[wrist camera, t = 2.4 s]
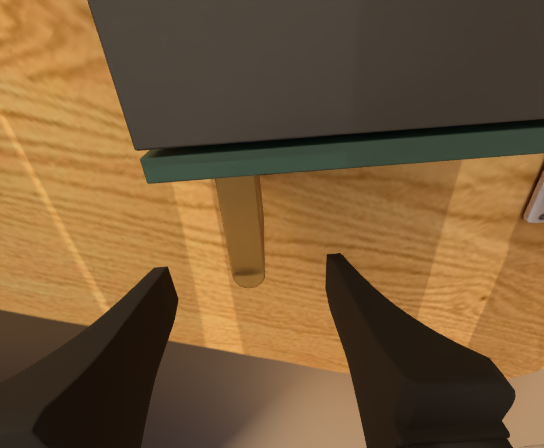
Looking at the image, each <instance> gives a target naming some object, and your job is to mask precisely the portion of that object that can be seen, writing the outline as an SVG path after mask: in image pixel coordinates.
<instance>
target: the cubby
mask: <svg viewBox="0 0 544 448" xmlns="http://www.w3.org/2000/svg"><path fill="white" fill-rule="evenodd" d="M88 3H89V7H90V10H91V13H92V16H93V19H94V22H95V26H96V29H97V32H98V35H99V38H100V41H101V44H102V48H103V51H104V54H105V57H106V60H107V63H108V66H109V70H110V73H111V76H112V79H113V82H114V85H115V89H116V92H117V95H118V98H119V101H120V104H121V107H122V111H123V114H124V117H125V120H126V123H127V126H128V130H129V133H130V136H131V139H132V142H133V145H134V148H135V150H137V151H139V150H152V149H165V148H178V147H191V146H204V145H217V144H230V143H242V142H255V141H268V140H281V139H294V138H307V137H320V136H333V135H345V134H358V133H371V132H384V131H397V130H410V129H423V128H436V127H449V126H461V125H474V124H487V123H500V122H513V121H526V120H539V119H544V0H88Z"/></svg>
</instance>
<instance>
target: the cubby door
mask: <svg viewBox="0 0 544 448" xmlns="http://www.w3.org/2000/svg"><path fill="white" fill-rule="evenodd" d="M539 153H544V119H539V120H526V121H513V122H500V123H487V124H474V125H461V126H449V127H436V128H423V129H410V130H397V131H384V132H371V133H358V134H345V135H333V136H320V137H307V138H294V139H281V140H268V141H255V142H242V143H230V144H217V145H204V146H191V147H178V148H165V149H152V150H150V151H149V152H147V153H146V154H145V155H144V156H143V157H142V158H140V161H141V164H142V167H143V170H144V174H145V177H146V180H147V183H149V184H150V183H163V182H176V181H189V180H202V179H215V182H216V188H217V193H218V199H219V204H220V210H221V215H222V221H223V226H224V232H225V237H226V243H227V248H228V254H229V259H230V265H231V270H232V276H233V279H234V281H235V282H236V283H237V284H238V285H239V286H241V287H244V288H253V287H256V286H258V285H260V284H261V283H262V282H263V280H264V278H265V253H264V216H263V205H262V195H261V184H260V175H267V174H280V173H293V172H306V171H319V170H332V169H345V168H357V167H370V166H383V165H396V164H409V163H422V162H435V161H448V160H461V159H474V158H487V157H500V156H513V155H526V154H539Z"/></svg>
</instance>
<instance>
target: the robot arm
mask: <svg viewBox="0 0 544 448" xmlns="http://www.w3.org/2000/svg"><path fill="white" fill-rule="evenodd" d="M523 219H524V220H525V221H526V222H528V223H543V222H544V170H543V172H542V175H541V177H540V179H539V182H538V184H537V186H536V188H535V191H534V193H533V195H532V197H531V200H530V202H529V204H528V206H527V209H526V211H525V213H524V216H523ZM326 293H327V298H328V303H329V307H330V311H331V314H332V316H333V319H334V322H335V325H336V328H337V331H338V334H339V337H340V340H341V343H342V346H343V349H344V351H345V355H346V358H347V361H348V365H349V369H350V373H351V377H352V382H353V385H354V390H355V395H356V398H357V403H358V407H359V412H360V417H361V422H362V426H363V431H364V436H365V441H366V446H367V448H513V447H512V446H511V444H510V443H509V441H508V439H507V438H509V437H510V434H509V431H508V430H507V428H506V427H505V425H504V424H503V422H502V419H503V418H504V416H505V415H506V413H507V412H508V411H509V409H510V408H511V406H512V404H513V402H514V400H515V390H514V389H513V388H512V386H511V385H510V384H509V382H508V381H507V379H506V378H505V377H504V375H503V374H502V373H501V371H500V370H499V369H498V368H497V366H496V365H495V364H494V363H493V362H492V361H491V360H490V358H488V357H486V356H483V355H481V354H479V353H477V352H475V351H473V350H471V349H468V348H466V347H464V346H462V345H460V344H458V343H456V342H454V341H452V340H450V339H448V338H447V337H445V336H443V335H441V334H439V333H437V332H436V331H434V330H432V329H430V328H429V327H427V326H425V325H424V324H422V323H421V322H419V321H417V320H416V319H414V318H413V317H411V316H410V315H408V314H407V313H405V312H404V311H403V310H401V309H400V308H398V307H397V306H396V305H394V304H393V303H392V302H390V301H389V300H388V299H387V298H386V297H384V296H383V295H382V294H381V293H380V292H379V291H377V290H376V289H375V288H374V287H373V286H372V285H371V284H370V283H369V282H368V281H367V280H366V279H365V278H364V277H363V276H362V275H361V274H360V273H359V272H358V271H357V270H356V269H355V268H354V267H353V266H352V265H351V264H350V263H349V262H348V261H347V260H346V259H345V257H344V256H343V255H342V254H341V253H337V254H327V262H326ZM177 305H178V297H177V294H176V290H175V287H174V284H173V281H172V278H171V275H170V272H169V269H168V267H157V268H153V269H152V270H151V271H150V272H149V273H148V274H147V275H146V276H145V277H144V278H143V279H142V280H141V281H140V282H139V283H138V284H137V285H136V286H135V287H134V288H132V289H131V290H130V291H129V292H128V293H127V294H126V295H125V296H124V297H123V298H122V299H121V300H120V301H119V302H117V303H116V304H115V305H114V306H113V307H112V308H111V309H110V310H108V311H107V312H106V313H105V314H104V315H103V316H102V317H100V318H99V319H98V320H97V321H95V322H94V323H93V324H92V325H90V326H89V327H88V328H86V329H85V330H84V331H82V332H81V333H80V334H79V335H77V336H76V337H74V338H73V339H71V340H70V341H69V342H67V343H66V344H64V345H63V346H61V347H60V348H58V349H57V350H55V351H54V352H52V353H51V354H49V355H48V356H46V357H44V358H43V359H41V360H39V361H38V362H36V363H35V364H33V365H31V366H30V367H28V368H26V369H25V370H23V371H21V372H19V373H17V374H16V375H14V376H12V377H10V378H9V379H7V380H5V381H3V382H1V383H0V448H141V444H142V438H143V433H144V427H145V423H146V418H147V413H148V408H149V403H150V399H151V395H152V390H153V386H154V382H155V378H156V374H157V371H158V368H159V364H160V361H161V358H162V356H163V353H164V350H165V347H166V344H167V341H168V338H169V335H170V332H171V329H172V326H173V323H174V320H175V315H176V310H177ZM521 448H544V445H532V446H525V447H521Z"/></svg>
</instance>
